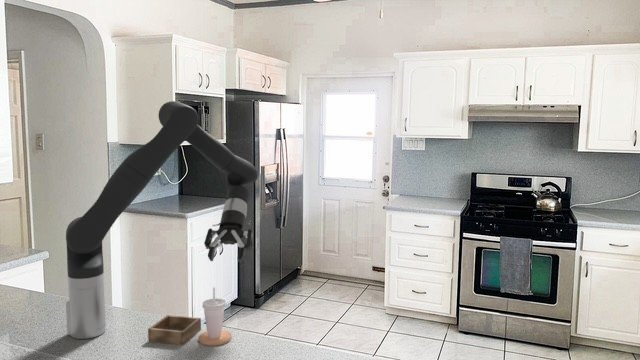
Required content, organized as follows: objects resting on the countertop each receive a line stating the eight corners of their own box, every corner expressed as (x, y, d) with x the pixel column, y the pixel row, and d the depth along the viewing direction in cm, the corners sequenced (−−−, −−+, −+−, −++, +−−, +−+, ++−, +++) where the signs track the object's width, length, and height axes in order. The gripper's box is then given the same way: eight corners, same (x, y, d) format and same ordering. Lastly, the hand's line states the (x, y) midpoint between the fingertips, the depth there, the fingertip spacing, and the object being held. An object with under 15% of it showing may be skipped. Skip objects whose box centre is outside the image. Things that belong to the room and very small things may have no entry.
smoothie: (203, 341, 136) (202, 291, 135) (202, 332, 142) (201, 284, 141) (227, 339, 138) (226, 289, 137) (225, 330, 144) (224, 282, 143)
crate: (148, 341, 138) (148, 328, 138) (167, 326, 149) (167, 315, 148) (183, 344, 136) (183, 332, 136) (200, 329, 146) (200, 318, 146)
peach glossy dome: (192, 344, 137) (192, 341, 136) (207, 331, 145) (207, 328, 145) (223, 347, 135) (223, 344, 135) (236, 333, 143) (236, 331, 143)
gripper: (209, 208, 157) (198, 253, 147) (254, 209, 156) (246, 254, 146) (214, 221, 163) (204, 266, 153) (257, 222, 162) (250, 267, 152)
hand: (225, 260), depth 149 cm, fingers open, 8 cm apart
